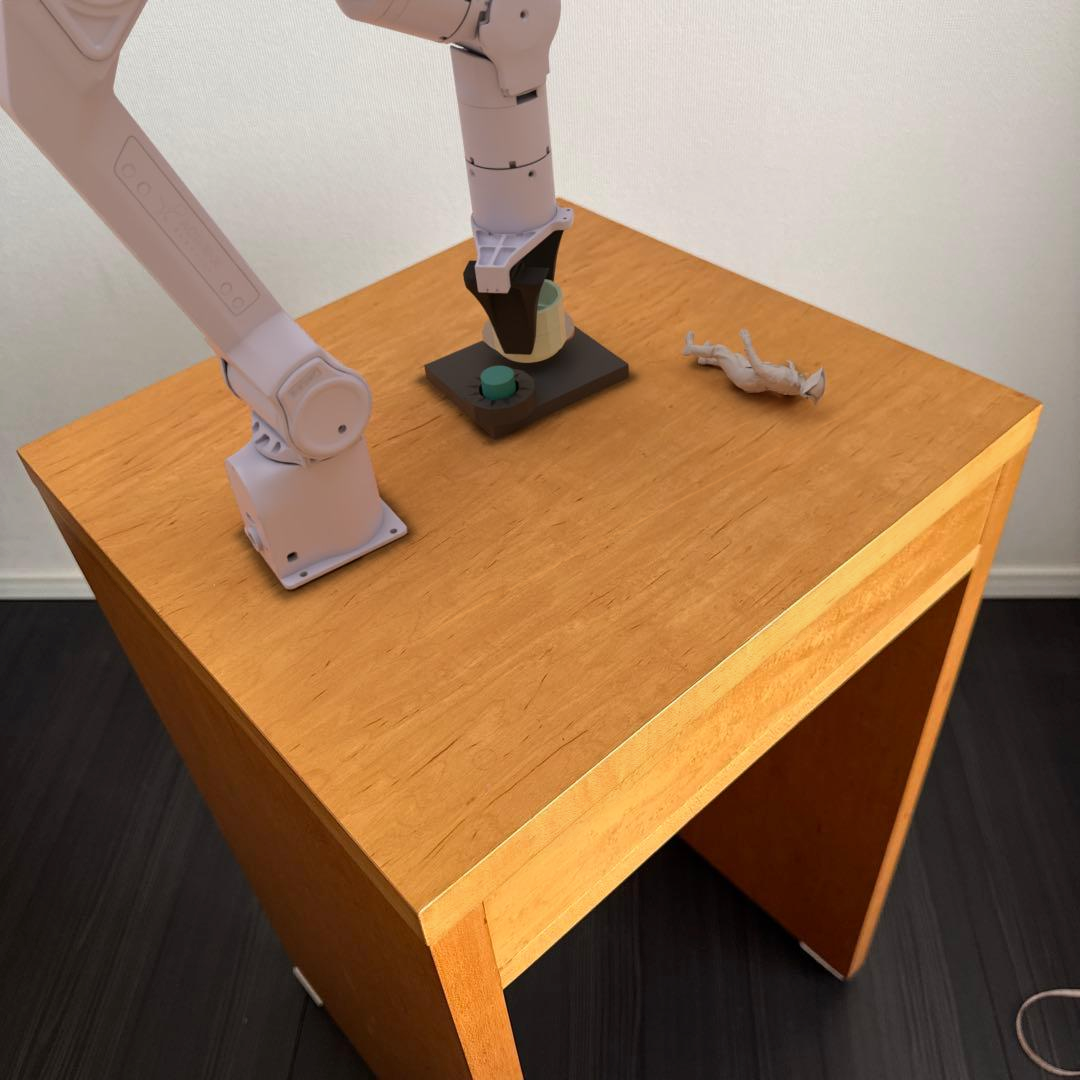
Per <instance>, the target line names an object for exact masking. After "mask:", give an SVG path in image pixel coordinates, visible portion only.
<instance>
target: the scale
mask: <svg viewBox="0 0 1080 1080" xmlns="http://www.w3.org/2000/svg"><path fill="white" fill-rule="evenodd" d="M493 366H506V367H509V368H511V369H512V370H513V372H514V377H515V385H516V392H515V394H514V395H513V396H511V397H508V398H506V399H499V400H491V399H487V398H485V397H484V395H483V391H482V384H481V374H482V372H483V371H484V370H486V369H487V368H490V367H493ZM629 367H630V366H629V363H628V362H626V361H625V360H624V359H622V358H621V357H619V356H618V355H617V354H615V353H614V352H612V351H611V350H609V349H608V348H607V347H605V346H604V345H603V344H601V343H599V342H598V341H597V340H595V339H594V338H593V337H591V336H589V335H588V334H587V333H586V332H584V330H581V329H580V328H579V327H577V326H575V325H574V335H573V338H572V339H571V341H570V342H569V343H568V344H567V345H566V346H565V347H563V348H562V349H560V350H559V351H558V352H557V353H556V354H554V355H553V356H551V357H550V358H547V359H545V360H542V361H538V362H531V363H522V362H516V361H512V360H509V359H508V358H506V357H502V356H500V355H497V354H495V353H493V352H492V351H490V350H489V349H488V348H487V347H486V346H485V344H484V342H483V339H482V340H480V341H478V342H475V343H473V344H470V345H469V346H466V347H464V348H461V349H458V350H457V351H454V352H452V353H450V354H447V355H445V356H443V357H440V358H438V359H435V360H433V361H431V362H428V363H425V364H424V372H425V378H426V380H427V381H428V382H430V383H431V384H432V385H433V386H434V387H435V388H437V390H439V391H440V392H441V393H442V394H443V395H444V396H445V397H447V398H448V399H449V400H450V401H451V402H452V403H453V404H454V405H455V406H457V408H459V410H461V411H462V412H463V413H464V414H465V415H466V416H467V417H468V418H470V419H471V421H473V422H474V423H475V424H476V425H478V426H479V427H480V428H481V429H482V430H483V431H484V432H485V433H486V434H488V435H489V436H490V437H491V438H492V439H493V440H498V439H500V438H503V437H504V436H506V435H508V434H510V433H513V432H515V431H517V430H519V429H521V428H524V427H525V426H527V425H530V424H532V423H535V422H536V421H538V420H541V419H543V418H545V417H547V416H549V415H551V414H553V413H556V412H558V411H560V410H562V409H564V408H566V407H568V406H572V405H574V404H575V403H577V402H580V401H581V400H584V399H586V398H588V397H590V396H593V395H595V394H596V393H600V392H601V391H603V390H605V389H607V388H610V387H613V386H614V385H616V384H619V383H620V382H622V381H625V380H627V379H629V378H630V368H629Z"/></svg>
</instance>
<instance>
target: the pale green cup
mask: <svg viewBox="0 0 1080 1080" xmlns="http://www.w3.org/2000/svg"><path fill="white" fill-rule="evenodd" d="M564 304H565V303H564V295H563V291H562V288H561V286H560V285H559V284H557V283H555V281H554V282H553V281H551V280H547V279H545V280H544V283H543V285H542V288H541V291H540V295H539V300H538V307H537V323H536V339H535V344H534V348H533V351H532V354H531V355H521V354H505V353H504V351H503V349H502V347H501V345H500V343H499V340H498V338H497V336H496V333H495V331H494V328H493V326H492V330H493V337H494V344H495V349H496V350H497V351H498V352H499V353H500V354H502V355H503V356H505V357H506V358H508V359H509V360H512V361H516V362H522V363H531V362H538V361H542V360H545V359H547V358H550V357H551V356H553V355H554V354H556V353H557V352H558V351H559V349H561V348H562V346H563V345H564V343H565V341H566V328H565V318H564V317H565V316H564V312H565V305H564Z"/></svg>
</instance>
